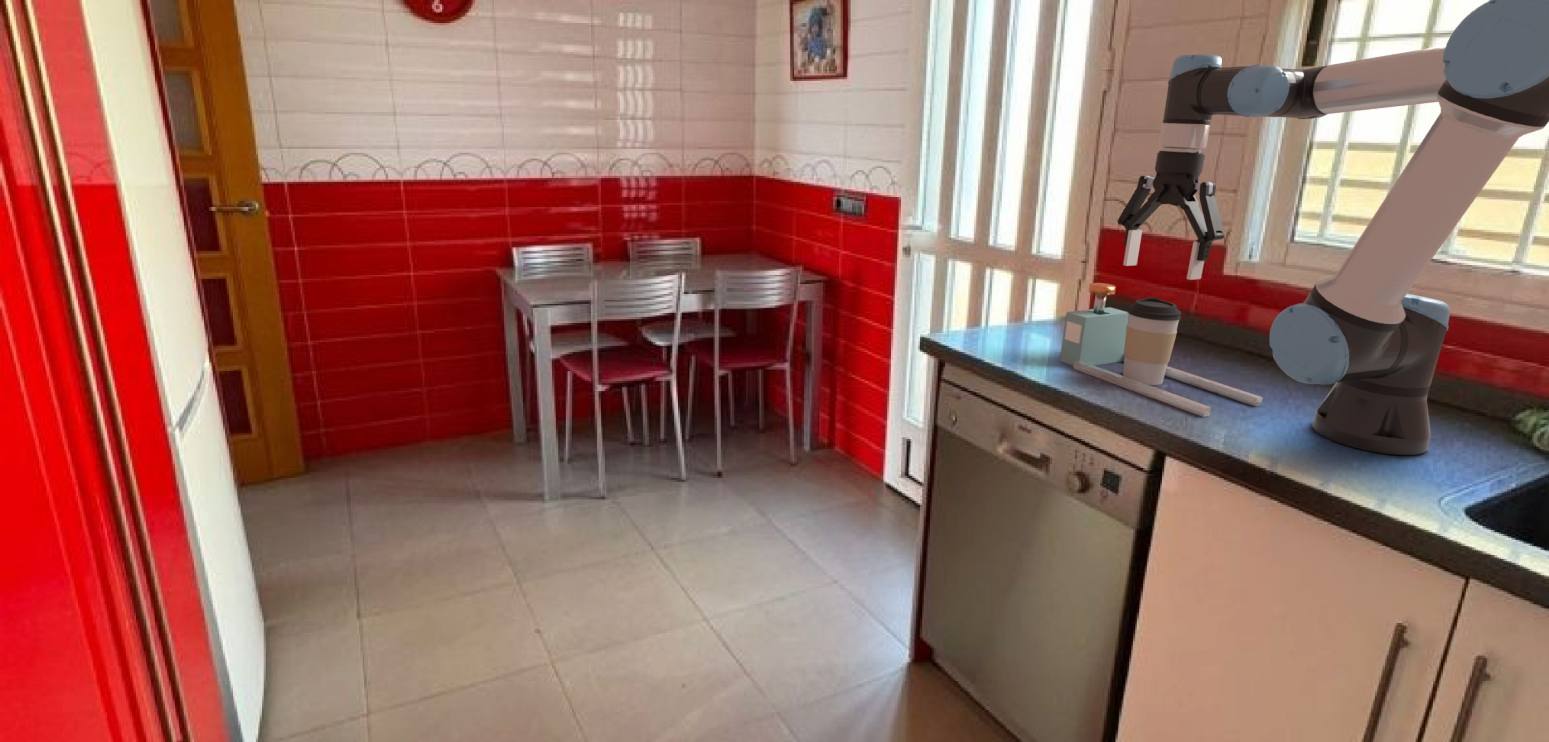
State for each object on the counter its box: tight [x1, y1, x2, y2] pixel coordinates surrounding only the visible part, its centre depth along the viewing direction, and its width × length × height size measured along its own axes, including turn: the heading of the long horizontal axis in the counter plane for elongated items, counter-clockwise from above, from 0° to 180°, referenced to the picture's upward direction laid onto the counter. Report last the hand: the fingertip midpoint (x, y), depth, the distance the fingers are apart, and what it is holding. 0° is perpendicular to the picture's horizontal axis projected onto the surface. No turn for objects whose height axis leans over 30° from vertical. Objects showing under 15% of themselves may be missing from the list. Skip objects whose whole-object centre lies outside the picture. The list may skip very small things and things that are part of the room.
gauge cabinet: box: [1059, 307, 1128, 366], centre depth 167 cm, size 5×12×10 cm, turn 117°
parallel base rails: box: [1072, 354, 1264, 418], centre depth 154 cm, size 28×15×2 cm, turn 27°
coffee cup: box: [1122, 296, 1182, 386], centre depth 155 cm, size 9×9×15 cm
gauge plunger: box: [1088, 282, 1117, 315], centre depth 165 cm, size 5×5×6 cm
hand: (1160, 272), depth 152 cm, fingers open, 13 cm apart
